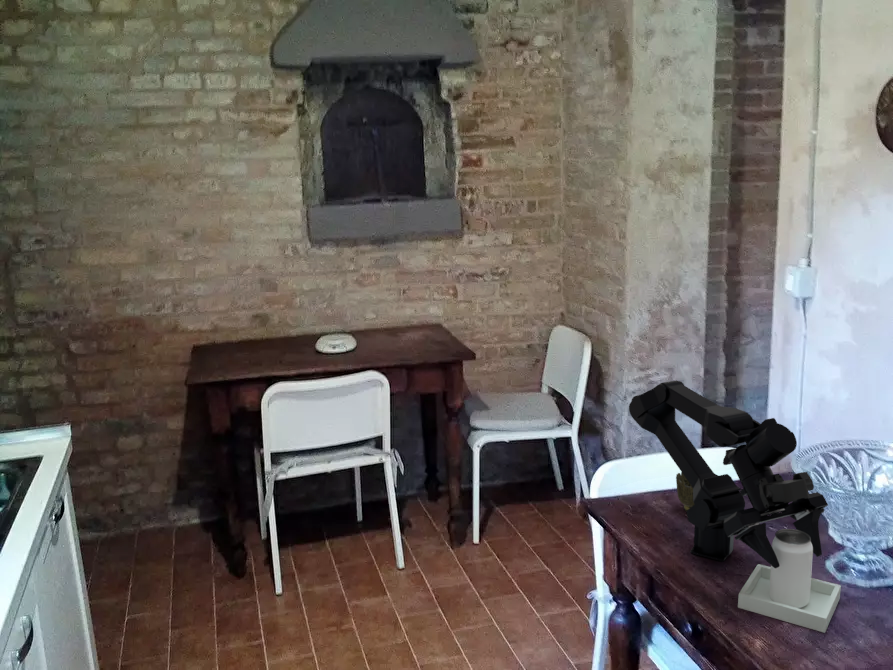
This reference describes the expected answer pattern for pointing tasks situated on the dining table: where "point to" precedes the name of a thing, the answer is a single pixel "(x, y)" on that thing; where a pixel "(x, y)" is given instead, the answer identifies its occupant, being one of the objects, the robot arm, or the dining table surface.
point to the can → (792, 568)
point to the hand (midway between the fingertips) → (798, 561)
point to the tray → (810, 616)
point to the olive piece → (684, 491)
